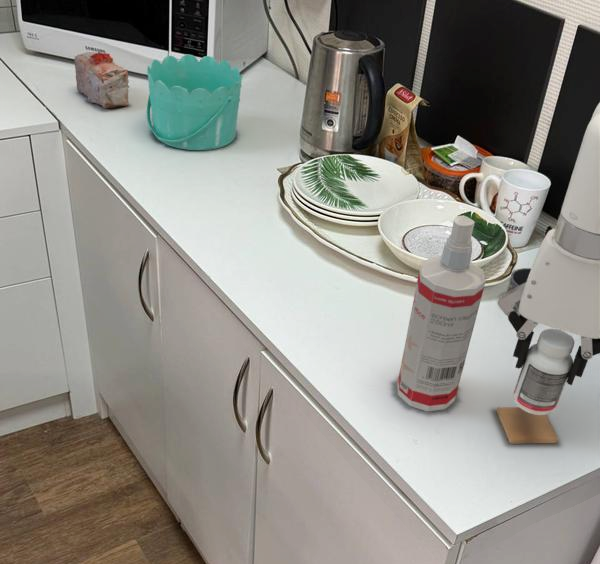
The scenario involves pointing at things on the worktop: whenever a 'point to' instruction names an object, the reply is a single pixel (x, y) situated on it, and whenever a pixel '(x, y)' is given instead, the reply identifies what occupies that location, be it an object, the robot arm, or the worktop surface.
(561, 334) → the pill bottle
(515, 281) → the tin
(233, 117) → the basket
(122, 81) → the food item
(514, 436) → the brown wooden square tile
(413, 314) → the spray bottle
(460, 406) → the worktop surface
